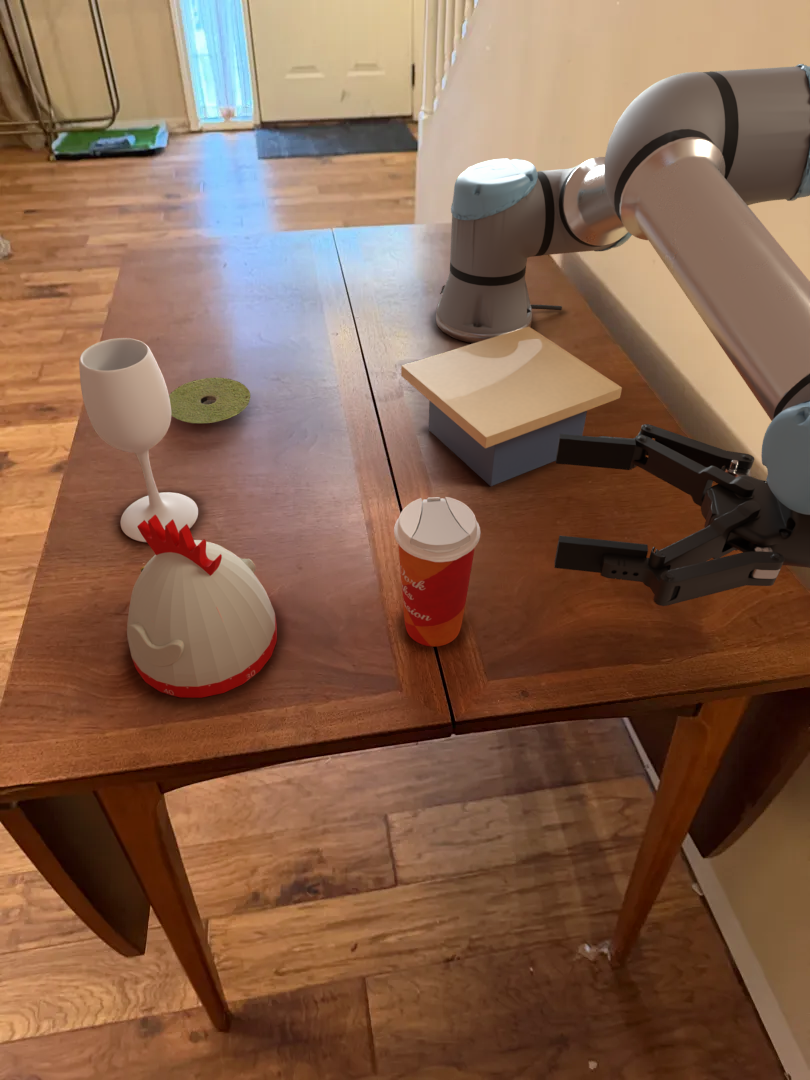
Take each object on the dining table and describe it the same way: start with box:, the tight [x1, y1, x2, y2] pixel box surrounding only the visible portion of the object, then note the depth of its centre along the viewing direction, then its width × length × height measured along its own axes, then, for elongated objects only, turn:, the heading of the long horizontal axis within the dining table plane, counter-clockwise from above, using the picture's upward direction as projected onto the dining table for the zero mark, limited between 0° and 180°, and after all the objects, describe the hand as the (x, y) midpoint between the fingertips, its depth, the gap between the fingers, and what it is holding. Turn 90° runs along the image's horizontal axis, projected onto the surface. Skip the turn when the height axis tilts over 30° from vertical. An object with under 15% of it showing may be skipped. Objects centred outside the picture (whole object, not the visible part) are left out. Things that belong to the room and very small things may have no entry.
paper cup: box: [393, 496, 481, 648], centre depth 73 cm, size 8×8×14 cm
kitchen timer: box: [126, 515, 278, 699], centre depth 71 cm, size 14×14×15 cm
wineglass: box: [78, 337, 199, 543], centre depth 82 cm, size 9×9×21 cm
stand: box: [400, 327, 623, 487], centre depth 98 cm, size 20×18×10 cm
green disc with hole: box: [169, 377, 252, 424], centre depth 105 cm, size 11×11×2 cm
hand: (556, 496), depth 64 cm, fingers open, 13 cm apart
